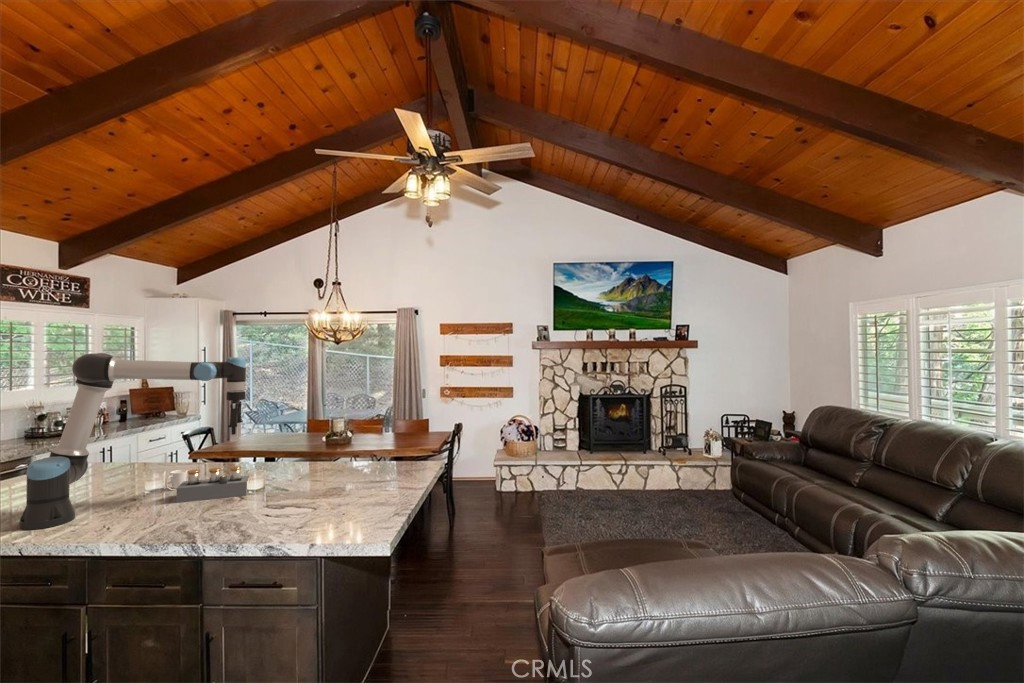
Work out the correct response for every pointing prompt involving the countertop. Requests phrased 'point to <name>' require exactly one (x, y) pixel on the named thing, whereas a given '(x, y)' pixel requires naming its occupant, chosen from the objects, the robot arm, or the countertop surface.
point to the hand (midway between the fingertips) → (235, 439)
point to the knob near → (193, 477)
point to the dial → (223, 479)
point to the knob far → (235, 473)
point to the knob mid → (214, 475)
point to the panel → (211, 490)
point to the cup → (177, 478)
